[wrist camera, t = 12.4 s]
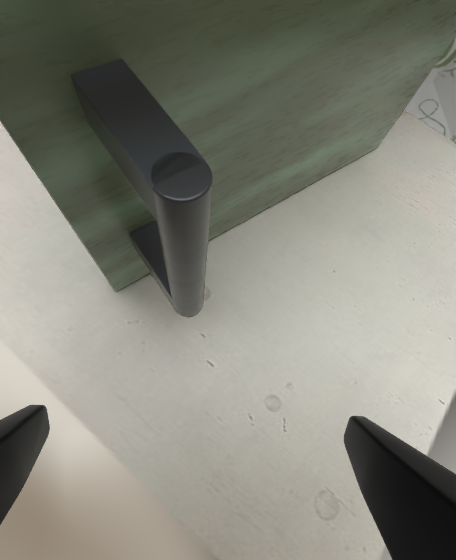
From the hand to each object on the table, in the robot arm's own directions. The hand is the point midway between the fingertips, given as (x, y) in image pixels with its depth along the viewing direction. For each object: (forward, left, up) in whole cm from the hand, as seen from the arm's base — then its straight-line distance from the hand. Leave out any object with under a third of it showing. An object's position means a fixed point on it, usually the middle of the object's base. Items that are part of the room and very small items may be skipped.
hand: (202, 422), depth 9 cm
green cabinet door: (+15, +2, -10) cm, 18 cm away
